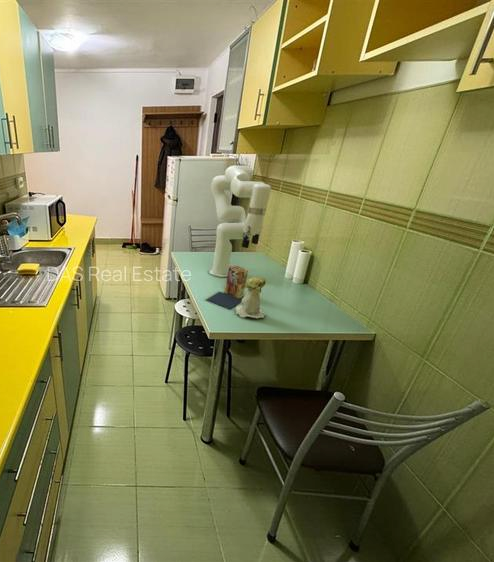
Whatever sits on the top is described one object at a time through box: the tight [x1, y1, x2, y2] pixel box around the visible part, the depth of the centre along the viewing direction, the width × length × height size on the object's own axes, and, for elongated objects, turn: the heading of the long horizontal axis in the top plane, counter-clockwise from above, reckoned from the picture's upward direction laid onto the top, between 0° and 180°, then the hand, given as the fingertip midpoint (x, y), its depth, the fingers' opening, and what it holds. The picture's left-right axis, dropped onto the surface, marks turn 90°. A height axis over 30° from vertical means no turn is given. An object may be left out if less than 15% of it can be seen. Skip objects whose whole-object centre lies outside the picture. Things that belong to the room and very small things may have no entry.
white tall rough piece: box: [235, 276, 267, 319], centre depth 138 cm, size 12×13×18 cm
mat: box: [206, 291, 243, 310], centre depth 154 cm, size 14×13×1 cm
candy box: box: [223, 264, 249, 299], centre depth 158 cm, size 9×4×15 cm, turn 39°
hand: (249, 245), depth 151 cm, fingers open, 9 cm apart
